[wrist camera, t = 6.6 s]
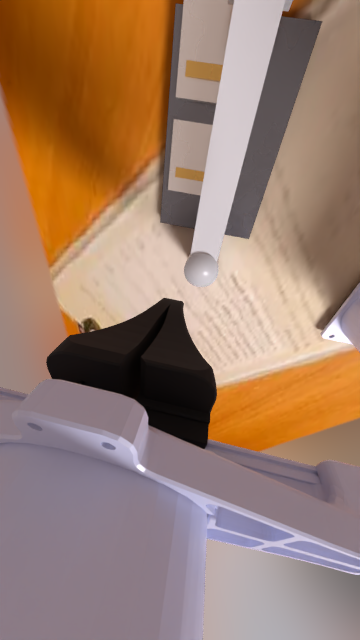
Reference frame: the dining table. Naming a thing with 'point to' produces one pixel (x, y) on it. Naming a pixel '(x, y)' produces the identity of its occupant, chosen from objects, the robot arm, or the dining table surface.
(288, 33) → the grey flat block
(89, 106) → the dining table surface
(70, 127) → the dining table surface
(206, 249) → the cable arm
